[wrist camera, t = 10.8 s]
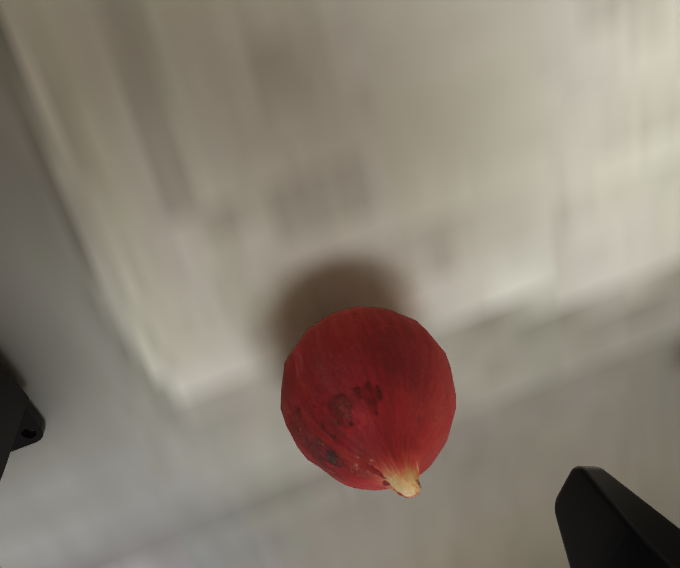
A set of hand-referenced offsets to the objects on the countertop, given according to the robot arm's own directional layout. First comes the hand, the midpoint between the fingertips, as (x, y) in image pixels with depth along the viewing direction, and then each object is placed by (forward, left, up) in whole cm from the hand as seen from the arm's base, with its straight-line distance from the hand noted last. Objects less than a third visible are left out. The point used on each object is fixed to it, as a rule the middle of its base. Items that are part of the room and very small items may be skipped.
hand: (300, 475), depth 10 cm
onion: (+1, -8, -14) cm, 16 cm away
